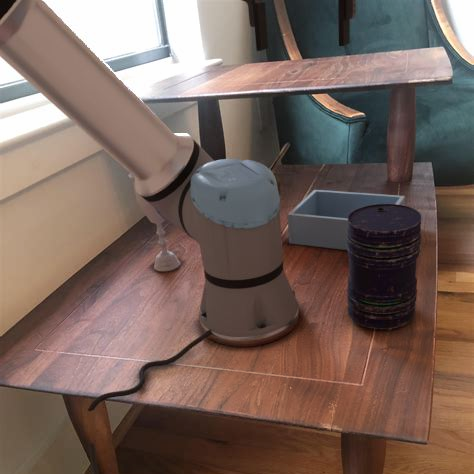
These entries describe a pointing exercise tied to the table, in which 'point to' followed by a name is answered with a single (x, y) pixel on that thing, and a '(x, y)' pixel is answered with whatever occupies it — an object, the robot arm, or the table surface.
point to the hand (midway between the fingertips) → (301, 47)
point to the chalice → (164, 258)
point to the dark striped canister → (383, 264)
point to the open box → (330, 216)
